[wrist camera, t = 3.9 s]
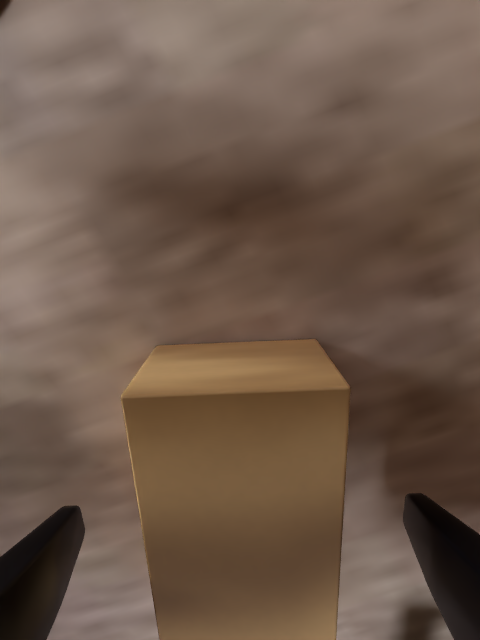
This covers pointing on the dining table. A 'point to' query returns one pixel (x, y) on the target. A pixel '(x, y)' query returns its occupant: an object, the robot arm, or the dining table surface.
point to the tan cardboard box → (241, 487)
